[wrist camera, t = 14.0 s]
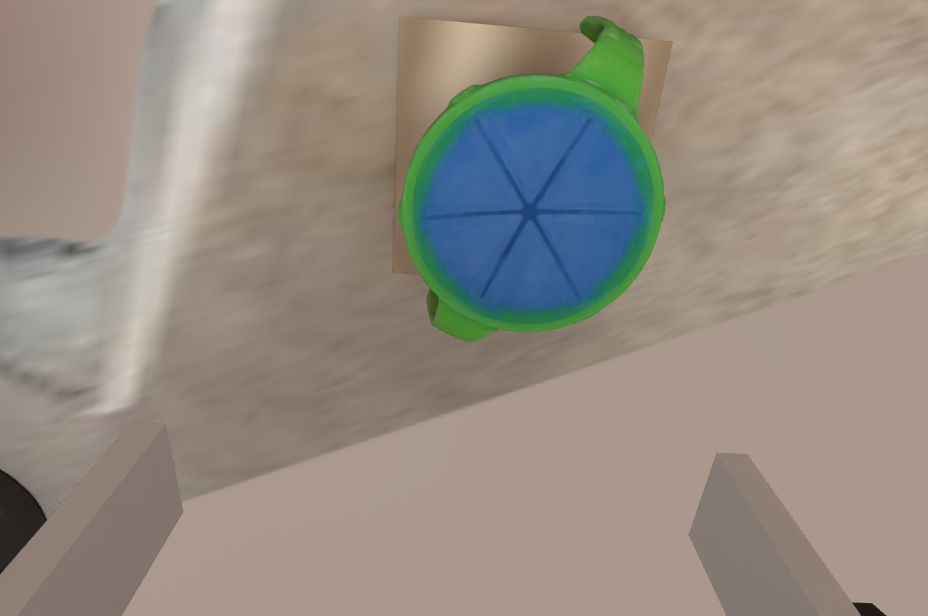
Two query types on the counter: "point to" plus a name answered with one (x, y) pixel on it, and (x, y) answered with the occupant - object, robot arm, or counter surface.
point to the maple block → (486, 79)
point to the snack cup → (535, 194)
